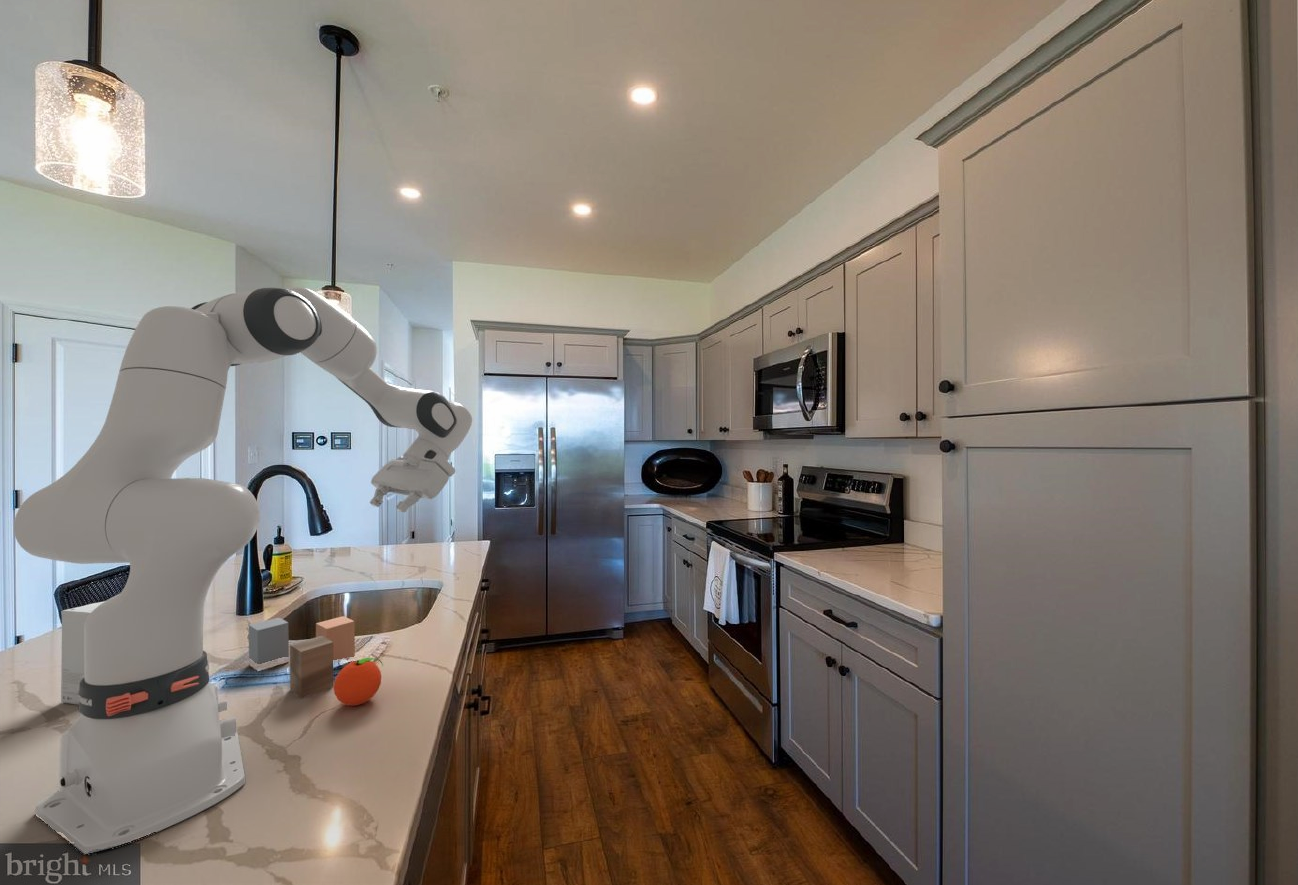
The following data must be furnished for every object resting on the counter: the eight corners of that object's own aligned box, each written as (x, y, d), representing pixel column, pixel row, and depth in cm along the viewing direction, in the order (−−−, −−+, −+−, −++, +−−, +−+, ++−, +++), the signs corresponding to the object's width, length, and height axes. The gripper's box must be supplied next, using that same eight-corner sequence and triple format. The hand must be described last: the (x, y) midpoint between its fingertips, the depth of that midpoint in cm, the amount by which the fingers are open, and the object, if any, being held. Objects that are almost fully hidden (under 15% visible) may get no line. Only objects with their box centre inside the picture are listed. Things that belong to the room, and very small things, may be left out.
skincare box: (87, 707, 82) (86, 613, 82) (57, 703, 84) (56, 611, 83) (147, 683, 90) (146, 597, 90) (119, 679, 92) (118, 595, 92)
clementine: (370, 686, 89) (370, 646, 89) (396, 694, 86) (396, 653, 86) (324, 708, 82) (324, 664, 82) (351, 718, 79) (350, 673, 79)
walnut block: (333, 686, 89) (333, 641, 89) (301, 698, 85) (301, 651, 85) (321, 678, 92) (321, 635, 92) (290, 689, 88) (289, 644, 88)
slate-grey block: (288, 662, 99) (288, 622, 99) (257, 672, 95) (257, 630, 95) (279, 656, 102) (279, 617, 102) (249, 665, 98) (248, 624, 97)
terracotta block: (354, 660, 99) (354, 621, 99) (326, 670, 95) (326, 628, 95) (343, 654, 102) (343, 616, 102) (316, 663, 98) (315, 623, 98)
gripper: (388, 448, 121) (349, 494, 114) (444, 454, 112) (405, 505, 104) (405, 464, 126) (368, 509, 118) (460, 472, 116) (424, 521, 108)
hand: (386, 507), depth 111 cm, fingers open, 8 cm apart
